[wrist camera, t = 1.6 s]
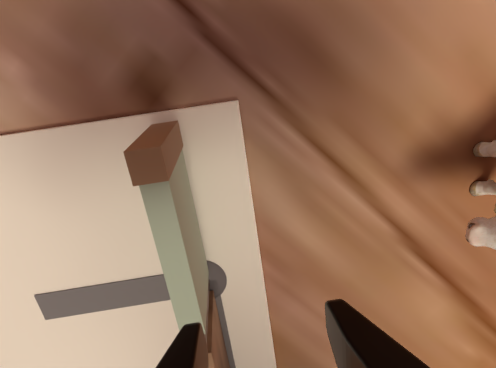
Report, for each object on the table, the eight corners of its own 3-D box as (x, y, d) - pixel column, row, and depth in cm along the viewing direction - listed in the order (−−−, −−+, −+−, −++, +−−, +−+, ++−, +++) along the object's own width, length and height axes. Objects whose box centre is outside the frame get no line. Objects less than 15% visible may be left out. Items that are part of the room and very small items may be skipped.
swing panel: (210, 272, 21) (207, 340, 16) (188, 275, 21) (178, 344, 16) (178, 120, 17) (160, 146, 12) (151, 124, 17) (123, 151, 12)
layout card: (278, 383, 26) (279, 389, 25) (23, 426, 26) (20, 433, 25) (238, 99, 18) (238, 101, 17) (-136, 155, 17) (-146, 158, 17)
